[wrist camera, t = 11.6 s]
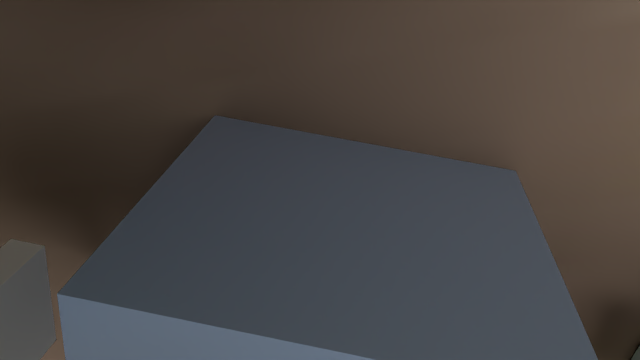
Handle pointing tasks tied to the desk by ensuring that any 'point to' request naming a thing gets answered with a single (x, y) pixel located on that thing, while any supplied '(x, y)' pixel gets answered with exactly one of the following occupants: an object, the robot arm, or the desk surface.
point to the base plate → (636, 354)
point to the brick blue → (322, 260)
